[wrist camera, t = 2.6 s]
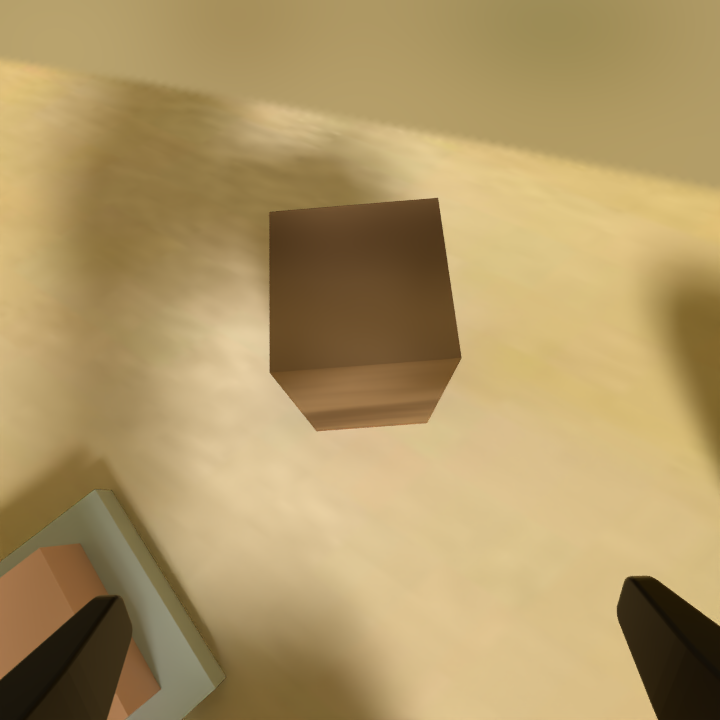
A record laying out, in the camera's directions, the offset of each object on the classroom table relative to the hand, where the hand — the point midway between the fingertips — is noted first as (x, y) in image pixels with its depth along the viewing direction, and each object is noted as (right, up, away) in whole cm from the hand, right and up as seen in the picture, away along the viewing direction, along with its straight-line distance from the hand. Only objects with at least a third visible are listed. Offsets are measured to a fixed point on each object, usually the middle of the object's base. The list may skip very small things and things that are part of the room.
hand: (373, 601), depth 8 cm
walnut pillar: (0, +4, +15) cm, 16 cm away
